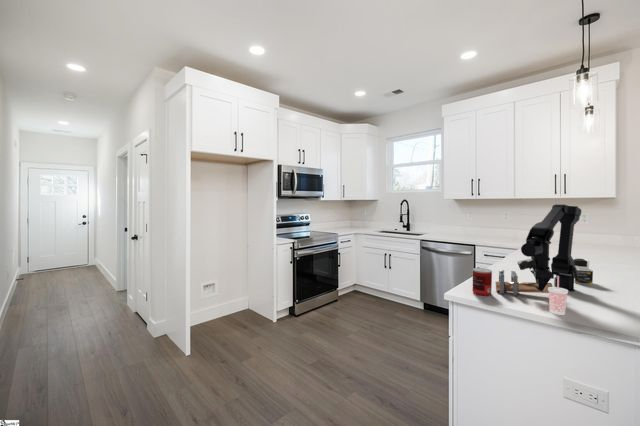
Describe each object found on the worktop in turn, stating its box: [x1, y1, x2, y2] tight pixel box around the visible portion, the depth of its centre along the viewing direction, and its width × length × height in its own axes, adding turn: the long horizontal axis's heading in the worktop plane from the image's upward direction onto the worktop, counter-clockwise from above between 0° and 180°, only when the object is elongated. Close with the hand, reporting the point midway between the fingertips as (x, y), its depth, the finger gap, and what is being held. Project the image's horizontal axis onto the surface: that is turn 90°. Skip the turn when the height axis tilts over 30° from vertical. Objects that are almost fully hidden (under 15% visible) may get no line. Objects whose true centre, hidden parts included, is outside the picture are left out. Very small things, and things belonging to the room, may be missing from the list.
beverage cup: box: [548, 276, 569, 316], centre depth 113 cm, size 6×6×14 cm
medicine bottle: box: [573, 258, 594, 286], centre depth 152 cm, size 7×7×12 cm
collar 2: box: [510, 270, 519, 297], centre depth 136 cm, size 2×10×9 cm, turn 152°
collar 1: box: [498, 269, 505, 296], centre depth 138 cm, size 2×10×10 cm, turn 152°
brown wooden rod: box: [495, 281, 553, 294], centre depth 134 cm, size 21×4×4 cm, turn 62°
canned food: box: [472, 267, 493, 297], centre depth 136 cm, size 8×8×11 cm
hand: (539, 289), depth 132 cm, fingers closed on brown wooden rod, 4 cm apart
